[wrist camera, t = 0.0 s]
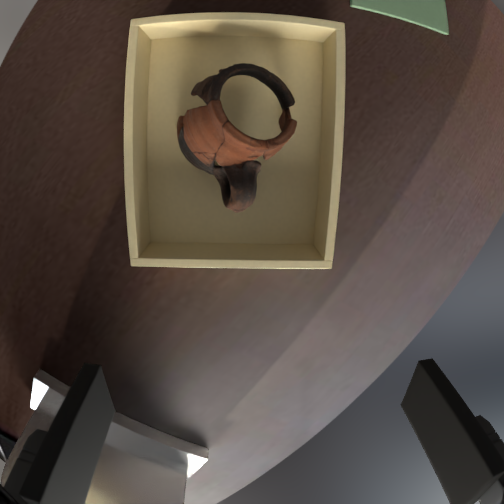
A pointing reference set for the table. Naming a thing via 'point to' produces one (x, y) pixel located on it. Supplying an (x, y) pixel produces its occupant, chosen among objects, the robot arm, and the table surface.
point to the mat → (410, 11)
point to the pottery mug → (232, 136)
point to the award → (120, 454)
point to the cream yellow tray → (247, 121)
